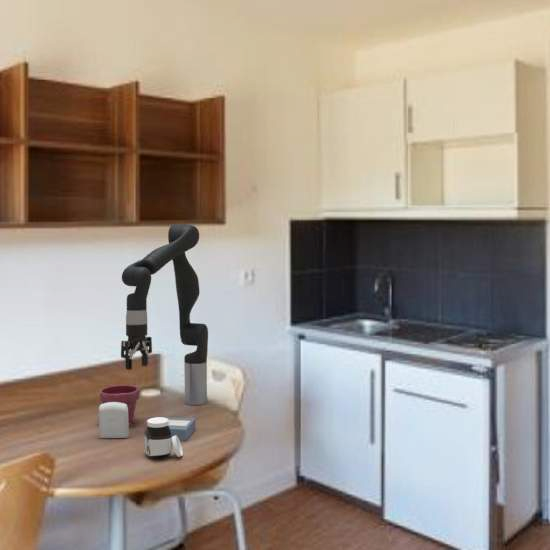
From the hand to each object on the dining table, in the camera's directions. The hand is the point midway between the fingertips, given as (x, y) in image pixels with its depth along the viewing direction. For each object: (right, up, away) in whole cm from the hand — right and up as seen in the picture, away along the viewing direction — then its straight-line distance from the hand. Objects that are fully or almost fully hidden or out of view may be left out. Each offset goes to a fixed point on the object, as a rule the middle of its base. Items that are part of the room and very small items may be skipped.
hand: (136, 367), depth 238 cm
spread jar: (+14, -25, -24) cm, 38 cm away
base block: (+13, -23, -3) cm, 27 cm away
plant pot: (-8, -22, +10) cm, 26 cm away
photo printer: (-7, -24, -6) cm, 25 cm away
